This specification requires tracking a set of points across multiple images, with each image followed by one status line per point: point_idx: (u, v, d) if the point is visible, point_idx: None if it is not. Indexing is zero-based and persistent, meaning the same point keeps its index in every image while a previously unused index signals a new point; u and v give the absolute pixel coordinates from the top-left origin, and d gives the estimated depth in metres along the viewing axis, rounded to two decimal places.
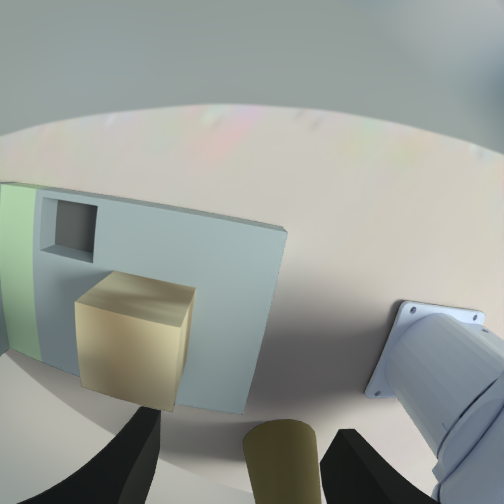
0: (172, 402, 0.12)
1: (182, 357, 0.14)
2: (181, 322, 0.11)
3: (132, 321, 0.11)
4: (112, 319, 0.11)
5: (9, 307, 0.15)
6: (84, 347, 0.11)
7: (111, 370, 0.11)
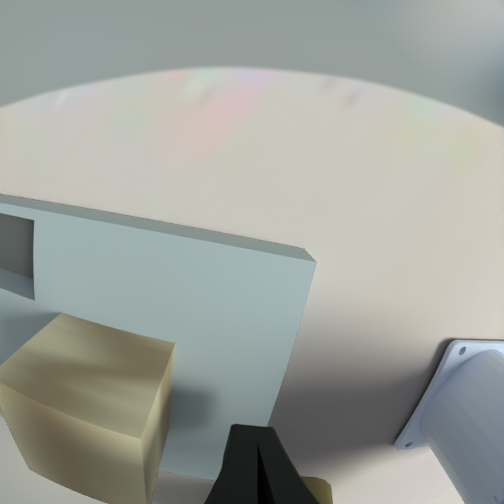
0: None
1: (157, 444, 0.08)
2: (143, 425, 0.06)
3: (67, 419, 0.05)
4: (39, 410, 0.05)
5: None
6: (17, 432, 0.05)
7: (58, 464, 0.06)
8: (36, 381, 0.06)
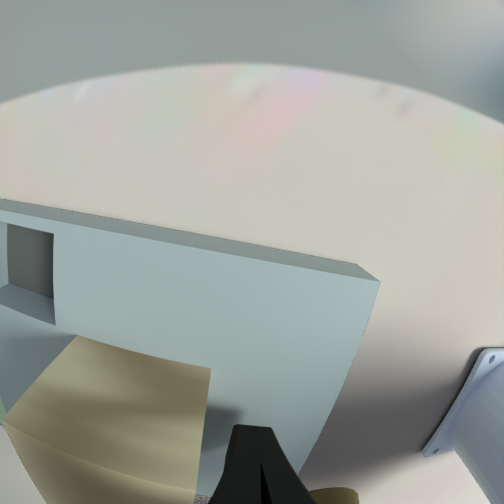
0: None
1: None
2: (195, 473, 0.05)
3: (103, 472, 0.04)
4: (67, 460, 0.04)
5: None
6: (37, 475, 0.04)
7: None
8: (59, 426, 0.05)
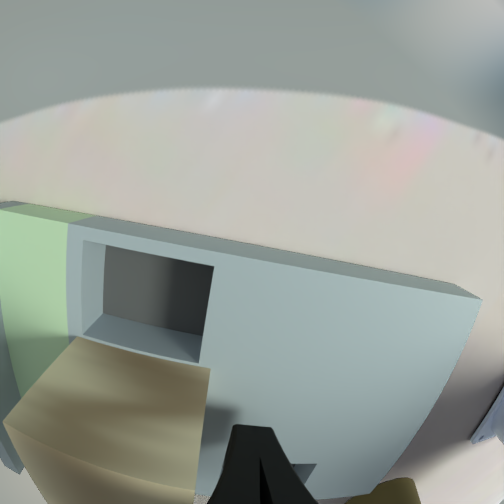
0: None
1: None
2: (194, 473, 0.05)
3: (103, 472, 0.04)
4: (67, 461, 0.04)
5: None
6: (38, 476, 0.04)
7: None
8: (59, 427, 0.05)
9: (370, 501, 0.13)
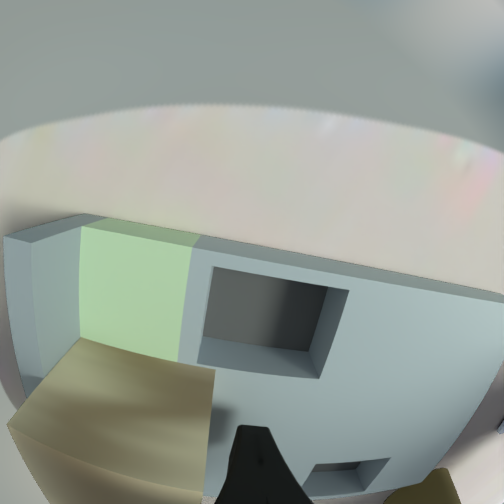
0: None
1: None
2: (202, 475, 0.05)
3: (110, 475, 0.04)
4: (73, 464, 0.04)
5: None
6: (42, 478, 0.04)
7: None
8: (65, 430, 0.05)
9: (414, 491, 0.13)
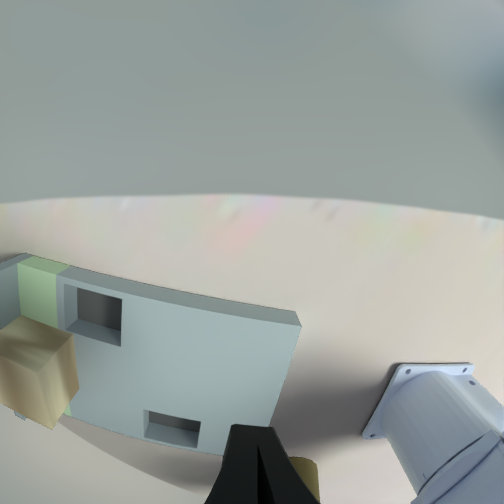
0: (50, 422, 0.12)
1: (61, 389, 0.14)
2: (40, 368, 0.12)
3: (12, 363, 0.11)
4: (2, 359, 0.11)
5: None
6: None
7: (10, 393, 0.12)
8: (2, 347, 0.12)
9: None
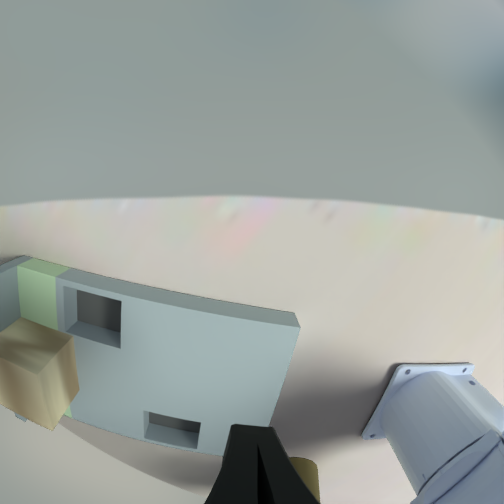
0: (50, 424, 0.12)
1: (61, 391, 0.14)
2: (40, 370, 0.12)
3: (12, 365, 0.11)
4: (2, 361, 0.11)
5: None
6: None
7: (11, 395, 0.12)
8: (2, 349, 0.12)
9: None
